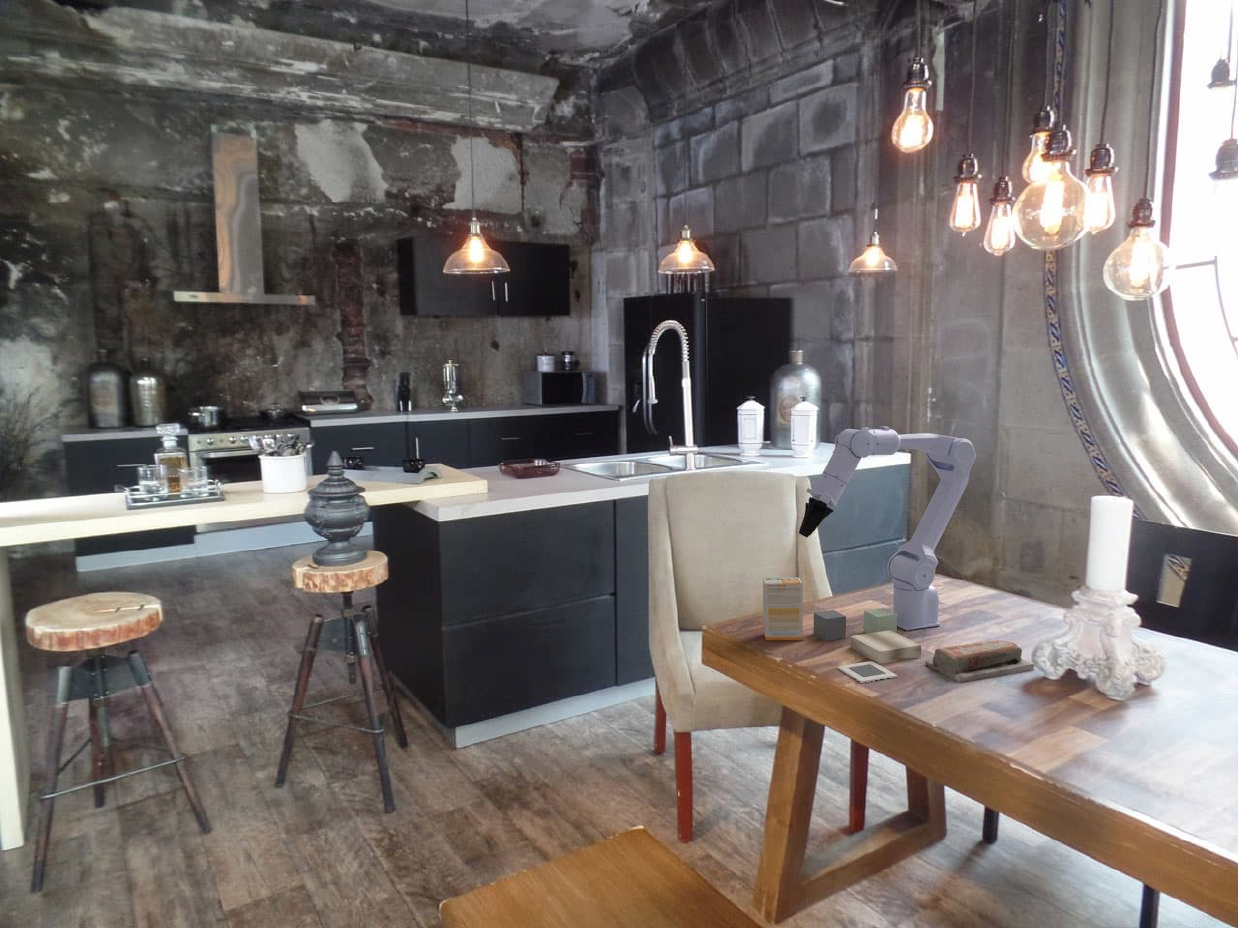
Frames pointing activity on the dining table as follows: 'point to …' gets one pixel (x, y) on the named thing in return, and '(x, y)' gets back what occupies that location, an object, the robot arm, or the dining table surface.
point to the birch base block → (885, 646)
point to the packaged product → (979, 660)
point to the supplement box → (783, 608)
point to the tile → (866, 671)
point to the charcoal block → (829, 625)
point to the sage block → (879, 620)
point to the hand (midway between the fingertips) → (804, 534)
